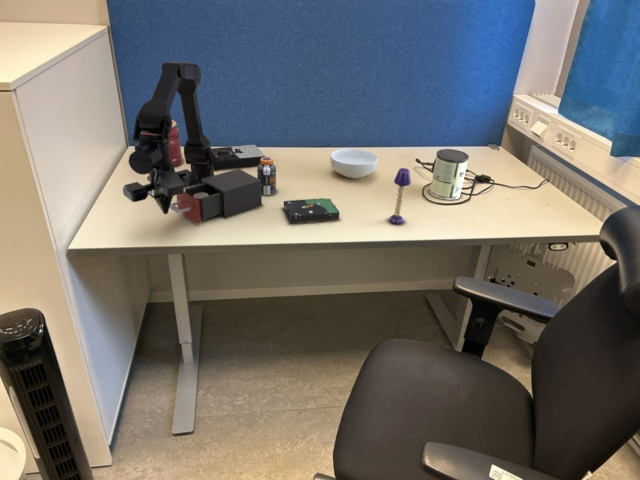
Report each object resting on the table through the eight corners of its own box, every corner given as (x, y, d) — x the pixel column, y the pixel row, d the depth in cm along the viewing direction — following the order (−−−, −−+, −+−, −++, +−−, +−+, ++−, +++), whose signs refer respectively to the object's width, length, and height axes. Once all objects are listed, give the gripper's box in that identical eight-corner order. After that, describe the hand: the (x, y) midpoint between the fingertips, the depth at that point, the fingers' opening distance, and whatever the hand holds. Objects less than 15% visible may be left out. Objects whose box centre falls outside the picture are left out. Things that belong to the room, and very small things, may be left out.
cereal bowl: (365, 164, 179) (367, 146, 175) (383, 181, 166) (386, 162, 162) (323, 167, 174) (324, 149, 170) (338, 185, 160) (340, 165, 157)
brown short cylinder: (205, 213, 133) (204, 199, 131) (191, 210, 134) (190, 197, 132) (212, 207, 137) (211, 193, 135) (198, 204, 138) (197, 191, 135)
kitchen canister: (167, 153, 177) (161, 106, 168) (190, 162, 171) (186, 113, 162) (137, 162, 168) (129, 113, 159) (160, 172, 161) (154, 121, 152)
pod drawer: (183, 228, 127) (180, 206, 124) (164, 214, 133) (161, 193, 130) (234, 211, 138) (233, 190, 134) (214, 199, 144) (213, 179, 140)
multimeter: (206, 158, 175) (205, 145, 173) (255, 153, 182) (255, 141, 180) (213, 171, 165) (212, 157, 162) (266, 165, 172) (266, 152, 169)
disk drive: (290, 225, 134) (339, 220, 138) (290, 216, 133) (340, 211, 137) (282, 208, 143) (329, 204, 147) (283, 200, 142) (329, 196, 145)
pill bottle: (272, 196, 150) (273, 163, 144) (255, 194, 151) (254, 160, 145) (278, 189, 155) (278, 156, 149) (260, 186, 156) (260, 154, 150)
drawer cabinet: (224, 218, 135) (223, 191, 131) (203, 204, 142) (201, 178, 138) (261, 205, 144) (261, 180, 140) (239, 193, 151) (238, 168, 146)
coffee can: (433, 185, 165) (440, 146, 158) (462, 191, 162) (471, 152, 155) (426, 195, 157) (433, 155, 150) (456, 202, 154) (466, 162, 147)
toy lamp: (406, 225, 138) (415, 172, 130) (392, 226, 137) (400, 173, 129) (399, 217, 142) (407, 165, 134) (385, 218, 141) (393, 166, 133)
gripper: (138, 178, 109) (147, 236, 117) (207, 160, 121) (211, 214, 129) (117, 163, 116) (127, 219, 124) (185, 148, 127) (189, 200, 135)
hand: (165, 213), depth 128 cm, fingers closed
